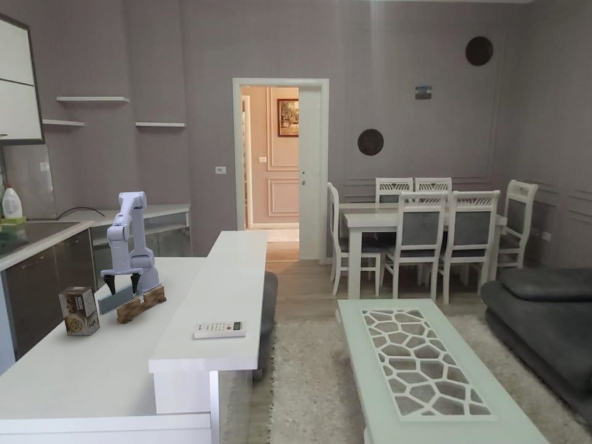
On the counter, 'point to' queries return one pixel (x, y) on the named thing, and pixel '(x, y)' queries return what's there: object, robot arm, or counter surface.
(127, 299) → the grey notched plate
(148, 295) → the walnut slotted plate
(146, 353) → the counter surface
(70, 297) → the coffee box
